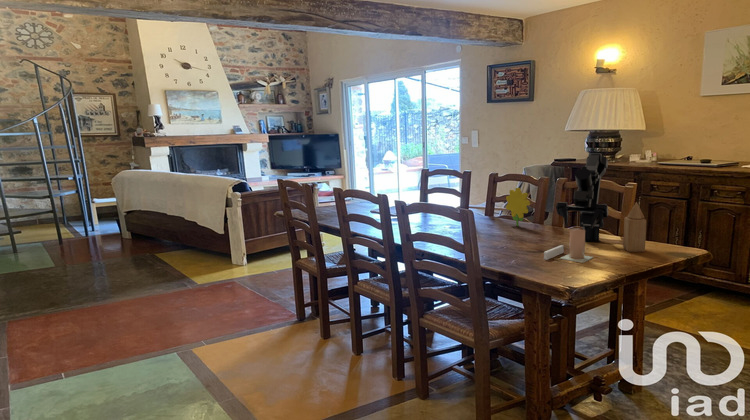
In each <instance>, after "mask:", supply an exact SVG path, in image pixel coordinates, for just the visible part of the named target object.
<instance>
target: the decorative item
mask: <svg viewBox="0 0 750 420" xmlns="http://www.w3.org/2000/svg"><path fill="white" fill-rule="evenodd" d="M528 195H529V194H528V192H522V189H521V188H520V187H515V189H510V190H509V195H507V196H505V199H506V201H507V204H506V205H505V209H506V210H508V211H511V217H512V220H513V221H516V222H515V223H516V226H517V227H519V221H520V222H523V220H524V216H525V215H524V214H528V213H529V209H528V206H530V205H531V201H530V200H529V199H528Z"/></svg>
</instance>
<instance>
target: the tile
mask: <svg viewBox="0 0 750 420" xmlns="http://www.w3.org/2000/svg"><path fill="white" fill-rule="evenodd" d="M559 259H560V260H563V261H564V260H565V261H571V262H576V263H582V264H584V263H585V262H588V261H590V260H592V259H594V256H589V255H585V254H584V259H572V258H569V253H568V254H566V255H563V256H561V257H560V258H559Z"/></svg>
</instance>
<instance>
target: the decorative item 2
mask: <svg viewBox="0 0 750 420" xmlns="http://www.w3.org/2000/svg"><path fill="white" fill-rule="evenodd" d="M623 219H624V220H623V221H624V222H623V224H624V225H623V238H622V239H623V240H622V241H623V243H622V247H623V249H624V250H625V251H627V252H629V253H632V252H633V253H636V252H637V253H644V252H645V251H646V237H647V235H646V234H647V219H645V216H644V214H643V212H642V209H641V207H640V206H639V204H638V202H637V201H636V202H635V203H634V205H633V206H632V208H631V210H629V213H628V214H627V216H625V217H624V218H623Z"/></svg>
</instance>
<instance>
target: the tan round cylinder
mask: <svg viewBox="0 0 750 420" xmlns="http://www.w3.org/2000/svg"><path fill="white" fill-rule="evenodd" d="M568 246H569V248H568V254H569V258H572V259H584V255H585V247H586V242H585V229H583V228H582V227H580V228H579V227H578V228H577V227H575V228H570V229H569V245H568Z"/></svg>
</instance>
